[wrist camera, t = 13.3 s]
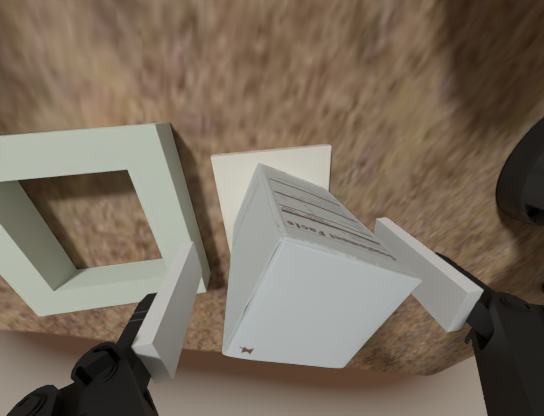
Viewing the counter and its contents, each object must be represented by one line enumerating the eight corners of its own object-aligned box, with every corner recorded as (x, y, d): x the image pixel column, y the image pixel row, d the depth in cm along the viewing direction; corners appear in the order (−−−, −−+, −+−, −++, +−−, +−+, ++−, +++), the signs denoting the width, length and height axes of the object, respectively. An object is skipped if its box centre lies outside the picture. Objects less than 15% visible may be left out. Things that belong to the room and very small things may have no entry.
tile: (327, 143, 19) (331, 145, 18) (322, 237, 24) (325, 242, 23) (212, 154, 18) (210, 156, 17) (231, 249, 23) (230, 255, 22)
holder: (169, 122, 17) (154, 124, 14) (210, 272, 24) (206, 292, 22) (-55, 139, 15) (-117, 145, 13) (62, 292, 23) (38, 316, 20)
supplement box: (294, 243, 23) (342, 373, 11) (231, 224, 21) (215, 360, 9) (326, 186, 20) (430, 282, 9) (258, 158, 18) (279, 236, 7)
